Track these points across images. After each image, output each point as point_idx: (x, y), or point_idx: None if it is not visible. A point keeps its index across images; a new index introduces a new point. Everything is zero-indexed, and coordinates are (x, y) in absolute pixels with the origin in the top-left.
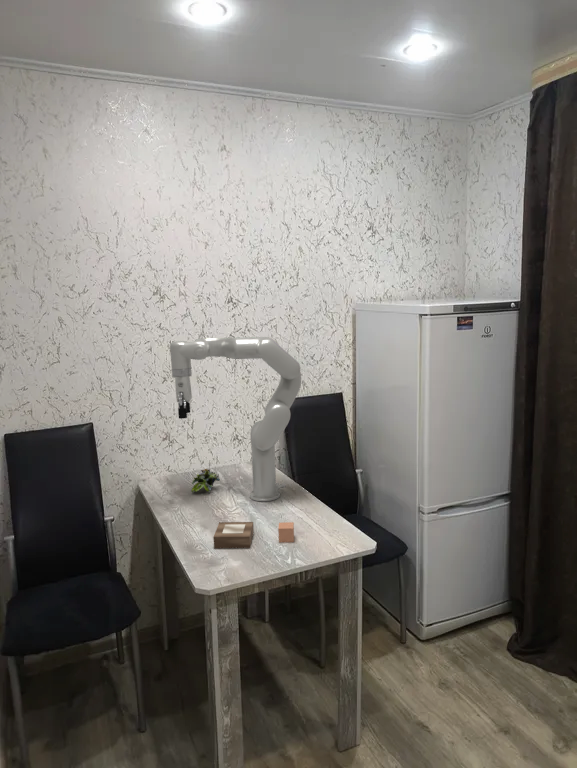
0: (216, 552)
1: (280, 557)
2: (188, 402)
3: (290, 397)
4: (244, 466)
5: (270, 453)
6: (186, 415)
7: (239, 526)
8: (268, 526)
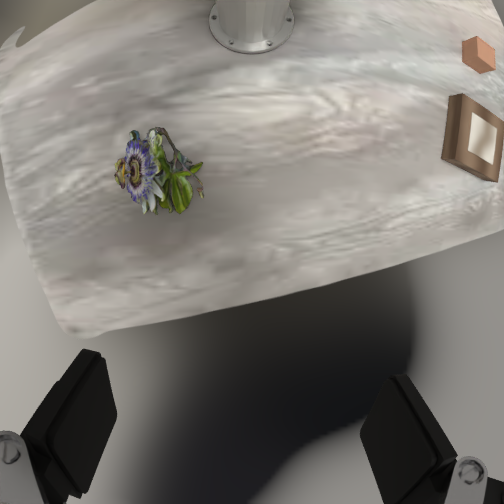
0: None
1: None
2: (30, 451)
3: None
4: (19, 89)
5: None
6: (413, 393)
7: (478, 126)
8: (428, 61)
